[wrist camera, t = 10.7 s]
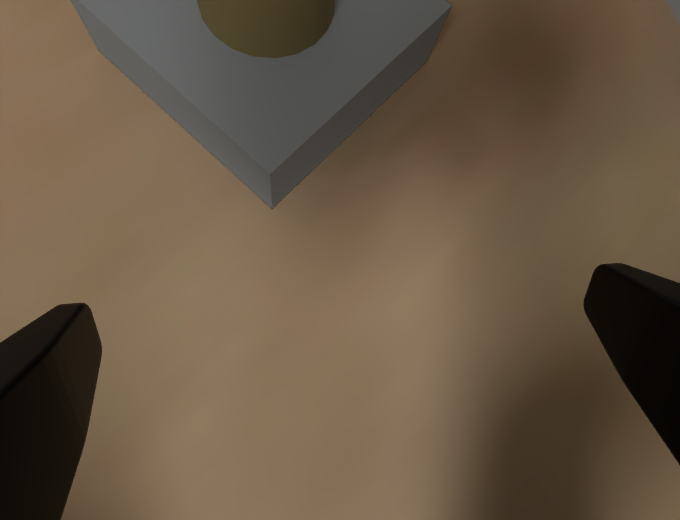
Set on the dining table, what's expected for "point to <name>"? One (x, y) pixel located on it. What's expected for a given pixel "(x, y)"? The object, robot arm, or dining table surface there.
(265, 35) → the cork
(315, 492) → the dining table surface
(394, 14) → the podium
